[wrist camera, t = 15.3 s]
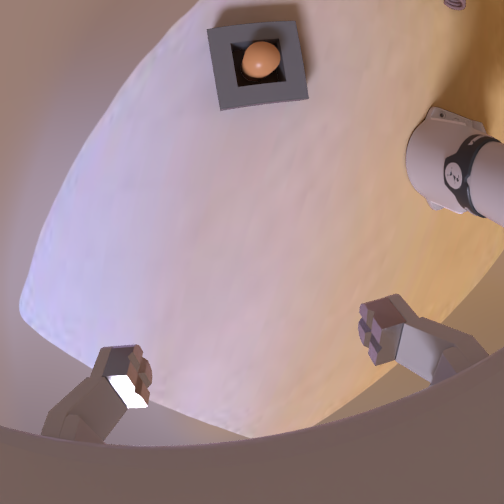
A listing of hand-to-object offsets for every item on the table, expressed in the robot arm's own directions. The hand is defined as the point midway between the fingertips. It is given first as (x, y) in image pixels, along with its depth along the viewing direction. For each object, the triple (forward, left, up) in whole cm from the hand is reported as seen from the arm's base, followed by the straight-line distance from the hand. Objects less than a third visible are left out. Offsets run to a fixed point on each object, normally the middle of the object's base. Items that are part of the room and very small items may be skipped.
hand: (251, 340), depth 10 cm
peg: (-6, -14, -34) cm, 37 cm away
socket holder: (-6, -14, -34) cm, 37 cm away
